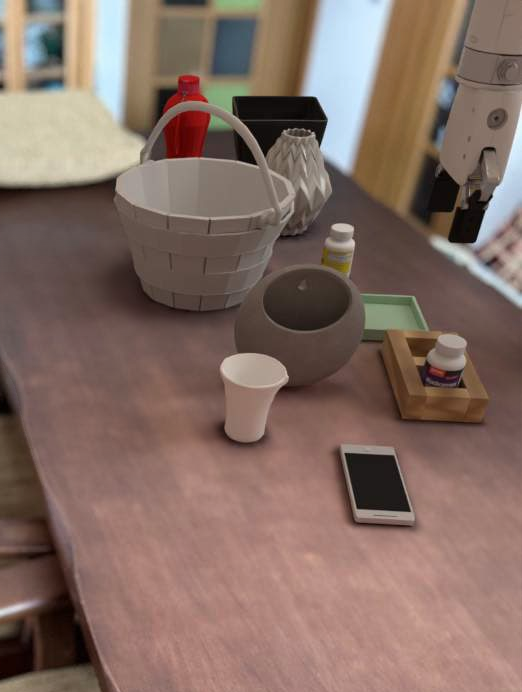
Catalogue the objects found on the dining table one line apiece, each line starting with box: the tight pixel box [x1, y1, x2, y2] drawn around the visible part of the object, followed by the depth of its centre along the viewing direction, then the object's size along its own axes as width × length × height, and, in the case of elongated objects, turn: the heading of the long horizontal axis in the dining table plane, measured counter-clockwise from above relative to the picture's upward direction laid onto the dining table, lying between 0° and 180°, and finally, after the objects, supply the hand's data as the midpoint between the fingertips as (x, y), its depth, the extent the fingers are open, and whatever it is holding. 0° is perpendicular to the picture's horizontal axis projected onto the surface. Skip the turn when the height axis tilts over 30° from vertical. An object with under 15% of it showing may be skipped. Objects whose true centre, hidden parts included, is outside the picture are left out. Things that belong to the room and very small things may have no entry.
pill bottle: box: [420, 334, 468, 388], centre depth 118 cm, size 5×5×10 cm
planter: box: [233, 263, 366, 387], centre depth 118 cm, size 18×7×19 cm, turn 87°
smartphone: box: [339, 443, 416, 526], centre depth 105 cm, size 7×16×1 cm, turn 176°
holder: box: [380, 329, 490, 424], centre depth 123 cm, size 11×20×4 cm, turn 176°
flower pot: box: [231, 95, 329, 166], centre depth 183 cm, size 19×19×17 cm
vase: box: [265, 128, 333, 237], centre depth 164 cm, size 16×16×18 cm
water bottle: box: [162, 74, 212, 159], centre depth 171 cm, size 9×11×25 cm
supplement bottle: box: [320, 223, 356, 279], centre depth 149 cm, size 5×5×10 cm
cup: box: [219, 353, 289, 443], centre depth 111 cm, size 9×9×10 cm
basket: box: [113, 101, 296, 312], centre depth 139 cm, size 31×35×30 cm
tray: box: [360, 293, 430, 342], centre depth 139 cm, size 17×13×2 cm
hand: (449, 226), depth 100 cm, fingers open, 9 cm apart
